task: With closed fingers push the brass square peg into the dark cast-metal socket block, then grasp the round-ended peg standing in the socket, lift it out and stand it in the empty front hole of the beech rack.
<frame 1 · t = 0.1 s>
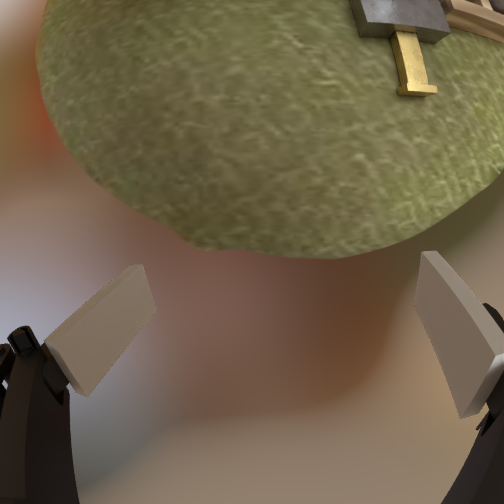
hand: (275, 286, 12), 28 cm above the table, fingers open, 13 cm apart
socket block: (387, 1, 23), on the table
rack: (463, 8, 19), on the table
brass square peg: (410, 59, 25), point 2 cm above the table, slide at 0.0 cm
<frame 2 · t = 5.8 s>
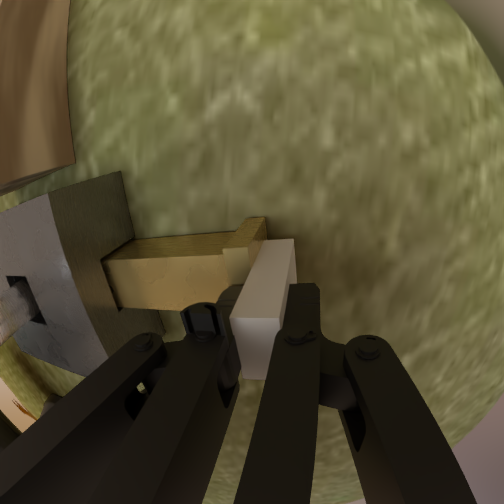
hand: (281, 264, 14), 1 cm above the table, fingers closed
socket block: (76, 263, 19), on the table
round-ended peg: (5, 314, 12), in the socket block
rack: (30, 94, 14), on the table
brass square peg: (171, 275, 15), point 2 cm above the table, slide at 0.5 cm, touching gripper
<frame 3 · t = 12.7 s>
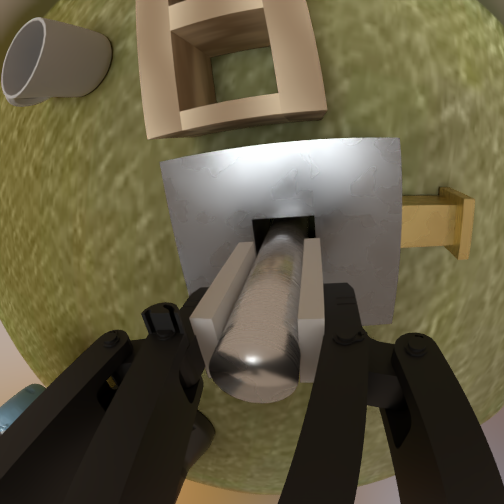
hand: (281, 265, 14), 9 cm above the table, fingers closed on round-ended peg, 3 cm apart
socket block: (291, 218, 22), on the table
round-ended peg: (282, 261, 15), in the socket block, touching gripper
rack: (241, 40, 17), on the table
cup: (80, 73, 20), on the table
brass square peg: (403, 222, 18), point 2 cm above the table, slide at 2.6 cm
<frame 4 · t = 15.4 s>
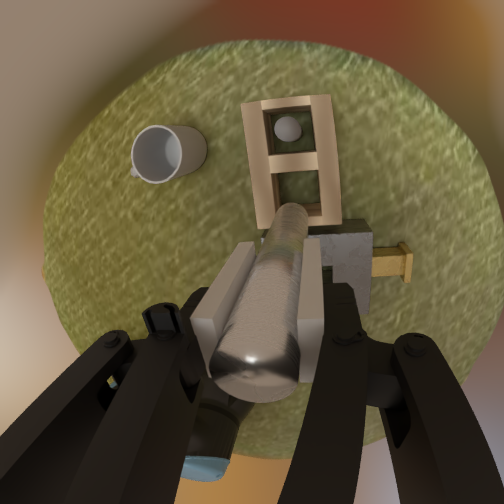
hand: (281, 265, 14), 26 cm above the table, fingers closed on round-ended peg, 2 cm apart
socket block: (318, 259, 41), on the table
round-ended peg: (282, 260, 15), point 25 cm above the table, touching gripper
rack: (296, 158, 36), on the table
cup: (178, 154, 39), on the table
brass square peg: (375, 263, 37), point 2 cm above the table, slide at 2.6 cm
when the fingers open (10 cm above the table, at t = 18.3 s): round-ended peg drops 1 cm, resting in rack.
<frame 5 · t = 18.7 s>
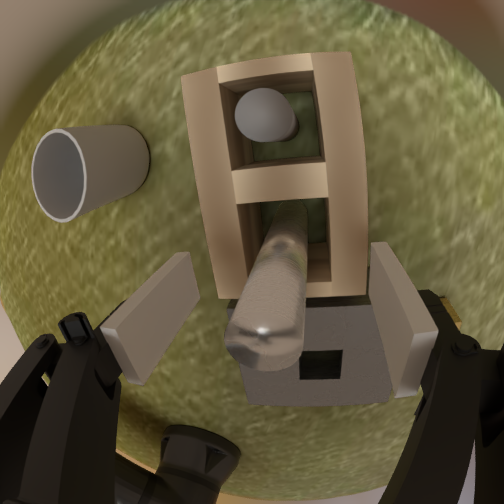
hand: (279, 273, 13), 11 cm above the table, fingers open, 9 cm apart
socket block: (320, 323, 27), on the table
round-ended peg: (284, 250, 16), resting in rack
rack: (288, 170, 22), on the table
cup: (114, 166, 25), on the table
brass square peg: (405, 332, 23), point 2 cm above the table, slide at 2.6 cm
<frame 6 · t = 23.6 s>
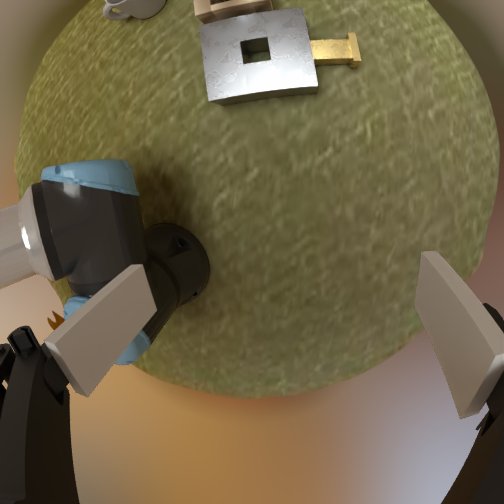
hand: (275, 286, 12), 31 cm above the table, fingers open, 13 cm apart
socket block: (262, 61, 34), on the table
cup: (144, 8, 32), on the table
brass square peg: (320, 51, 30), point 2 cm above the table, slide at 2.6 cm
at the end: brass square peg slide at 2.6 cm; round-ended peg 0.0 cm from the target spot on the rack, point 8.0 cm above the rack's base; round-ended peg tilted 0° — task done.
